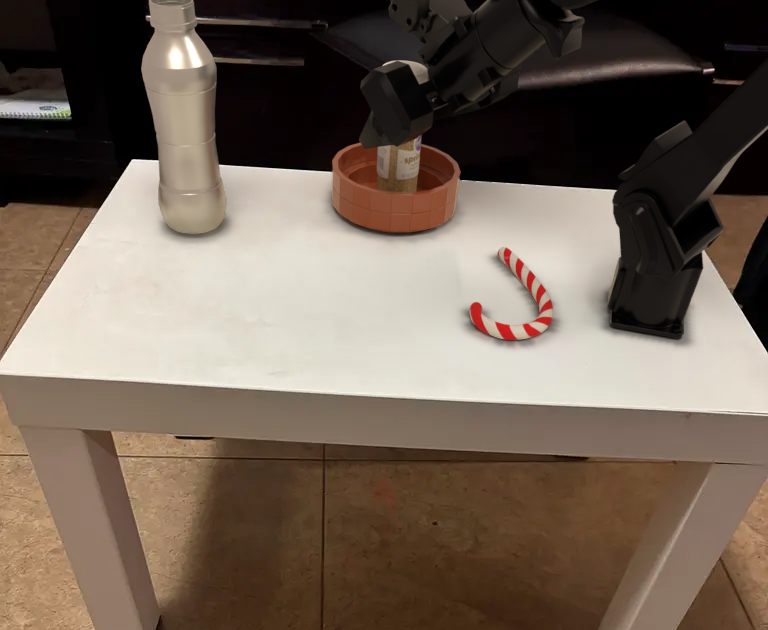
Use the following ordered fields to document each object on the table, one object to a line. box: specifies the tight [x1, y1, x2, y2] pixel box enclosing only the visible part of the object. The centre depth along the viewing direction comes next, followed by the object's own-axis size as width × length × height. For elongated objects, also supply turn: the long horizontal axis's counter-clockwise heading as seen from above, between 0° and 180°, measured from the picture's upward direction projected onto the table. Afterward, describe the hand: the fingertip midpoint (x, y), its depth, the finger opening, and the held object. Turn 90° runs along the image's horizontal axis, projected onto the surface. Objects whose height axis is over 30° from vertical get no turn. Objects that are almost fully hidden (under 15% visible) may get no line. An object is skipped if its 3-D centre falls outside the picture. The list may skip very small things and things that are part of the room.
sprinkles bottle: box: [377, 59, 429, 193], centre depth 83 cm, size 5×5×13 cm
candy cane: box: [469, 246, 554, 341], centre depth 77 cm, size 8×1×15 cm
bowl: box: [331, 142, 462, 234], centre depth 87 cm, size 13×13×4 cm
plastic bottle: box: [140, 0, 228, 235], centre depth 76 cm, size 6×7×20 cm
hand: (391, 130), depth 83 cm, fingers open, 9 cm apart
